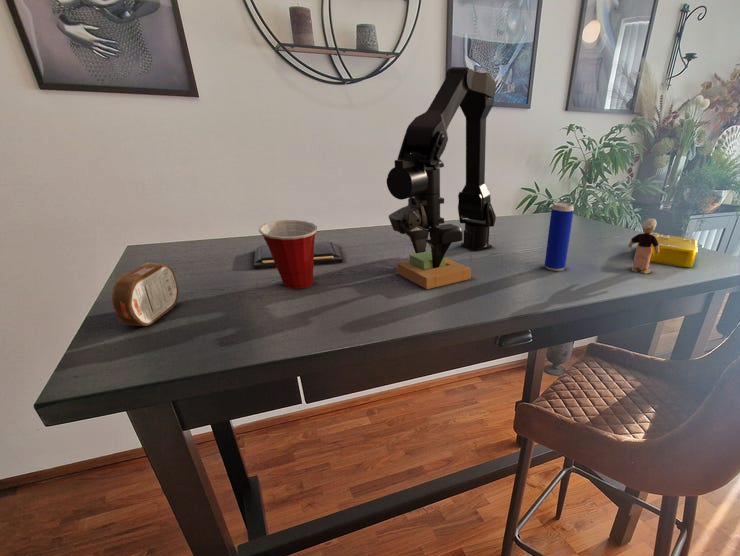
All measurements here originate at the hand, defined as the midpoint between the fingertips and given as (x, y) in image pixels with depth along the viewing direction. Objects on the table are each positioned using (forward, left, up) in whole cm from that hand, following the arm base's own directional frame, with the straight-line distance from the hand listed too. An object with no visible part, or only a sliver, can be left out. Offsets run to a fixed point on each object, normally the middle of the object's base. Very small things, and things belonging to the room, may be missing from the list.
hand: (428, 265), depth 102 cm
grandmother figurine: (-46, +26, -2) cm, 53 cm away
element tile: (-63, +23, -2) cm, 67 cm away
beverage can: (-29, +13, -2) cm, 32 cm away
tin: (+53, -6, -2) cm, 53 cm away
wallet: (+20, -28, -2) cm, 34 cm away
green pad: (0, 0, -1) cm, 1 cm away
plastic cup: (+27, -9, -2) cm, 28 cm away
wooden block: (0, +2, -2) cm, 3 cm away
